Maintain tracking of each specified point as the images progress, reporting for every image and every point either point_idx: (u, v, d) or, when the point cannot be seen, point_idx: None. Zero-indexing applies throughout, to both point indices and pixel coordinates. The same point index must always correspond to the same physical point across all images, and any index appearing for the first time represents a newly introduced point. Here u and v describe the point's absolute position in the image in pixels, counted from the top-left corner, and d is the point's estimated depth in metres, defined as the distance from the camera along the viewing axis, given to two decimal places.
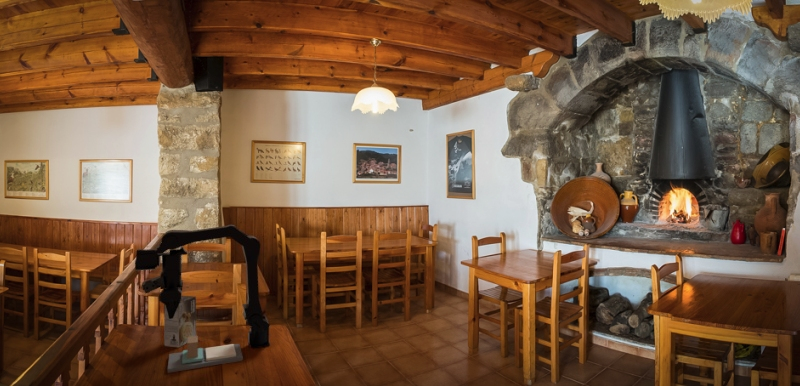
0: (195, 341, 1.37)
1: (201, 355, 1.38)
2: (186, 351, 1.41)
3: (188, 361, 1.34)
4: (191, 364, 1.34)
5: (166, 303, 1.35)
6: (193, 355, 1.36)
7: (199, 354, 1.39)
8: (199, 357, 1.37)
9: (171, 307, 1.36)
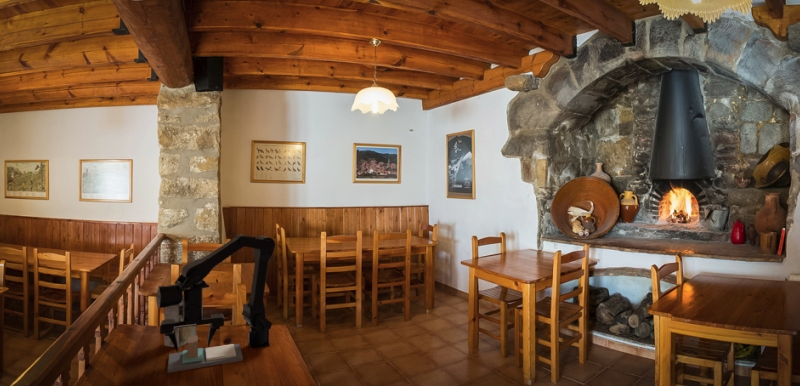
0: (195, 341, 1.37)
1: (201, 355, 1.38)
2: (186, 351, 1.41)
3: (188, 361, 1.34)
4: (191, 364, 1.34)
5: None
6: (193, 355, 1.36)
7: (199, 354, 1.39)
8: (199, 357, 1.37)
9: None
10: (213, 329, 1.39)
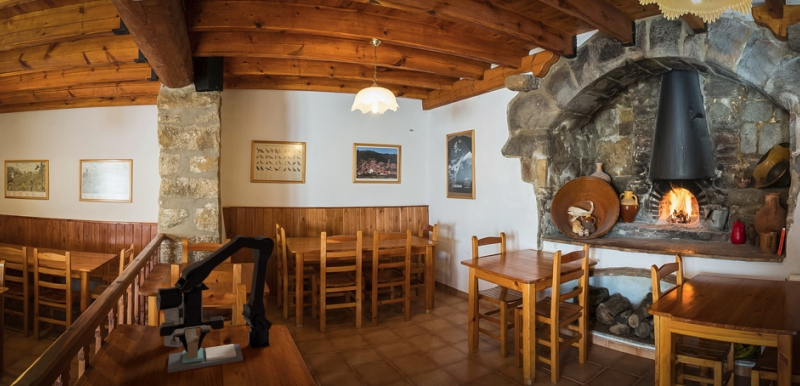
0: (195, 341, 1.37)
1: (201, 355, 1.38)
2: None
3: (188, 361, 1.34)
4: (191, 364, 1.34)
5: None
6: (193, 355, 1.36)
7: (199, 354, 1.39)
8: (199, 357, 1.37)
9: None
10: (203, 333, 1.38)
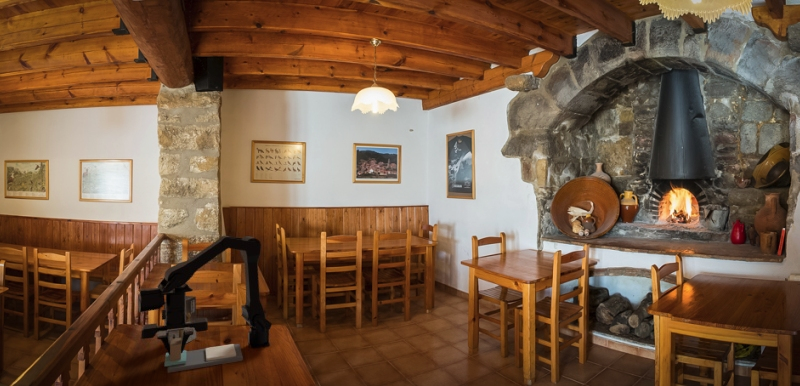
0: (178, 343, 1.35)
1: (184, 358, 1.36)
2: None
3: (171, 364, 1.32)
4: (191, 364, 1.34)
5: None
6: (176, 358, 1.34)
7: (182, 357, 1.37)
8: (182, 360, 1.34)
9: None
10: (186, 335, 1.35)
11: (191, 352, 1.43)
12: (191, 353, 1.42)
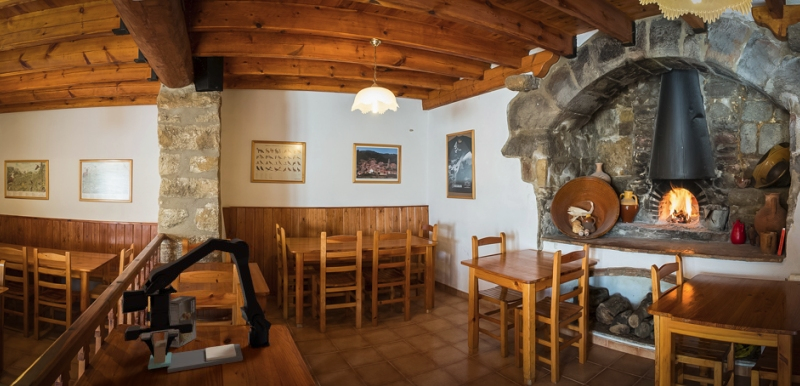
0: (162, 346, 1.33)
1: (169, 360, 1.34)
2: (154, 356, 1.37)
3: (154, 366, 1.30)
4: (191, 364, 1.34)
5: None
6: (160, 360, 1.32)
7: (167, 359, 1.35)
8: (166, 362, 1.33)
9: None
10: (171, 337, 1.33)
11: (191, 352, 1.43)
12: (191, 353, 1.42)
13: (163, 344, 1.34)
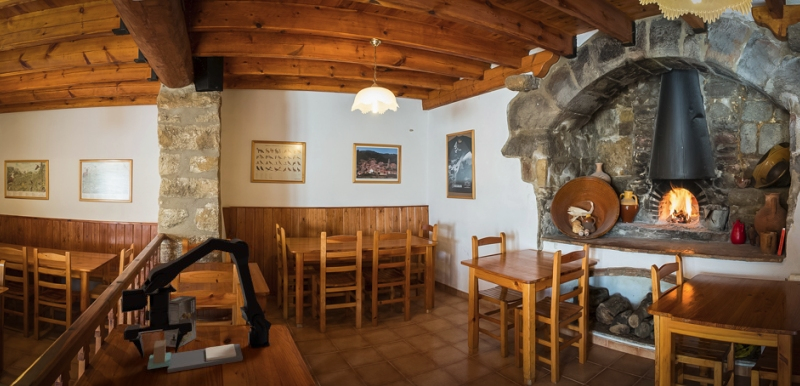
0: (161, 346, 1.33)
1: (168, 360, 1.34)
2: (153, 356, 1.37)
3: (154, 366, 1.30)
4: (191, 364, 1.34)
5: None
6: (159, 360, 1.32)
7: (166, 359, 1.35)
8: (165, 362, 1.32)
9: None
10: (180, 335, 1.35)
11: (191, 352, 1.43)
12: (191, 353, 1.42)
13: (162, 344, 1.34)
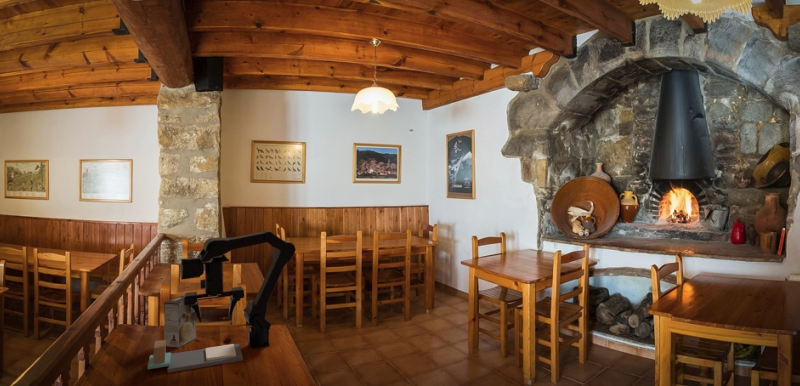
0: (161, 346, 1.33)
1: (168, 360, 1.34)
2: (153, 356, 1.37)
3: (154, 366, 1.30)
4: (191, 364, 1.34)
5: None
6: (159, 360, 1.32)
7: (166, 359, 1.35)
8: (165, 362, 1.32)
9: None
10: (234, 301, 1.45)
11: (191, 352, 1.43)
12: (191, 353, 1.42)
13: (162, 344, 1.34)
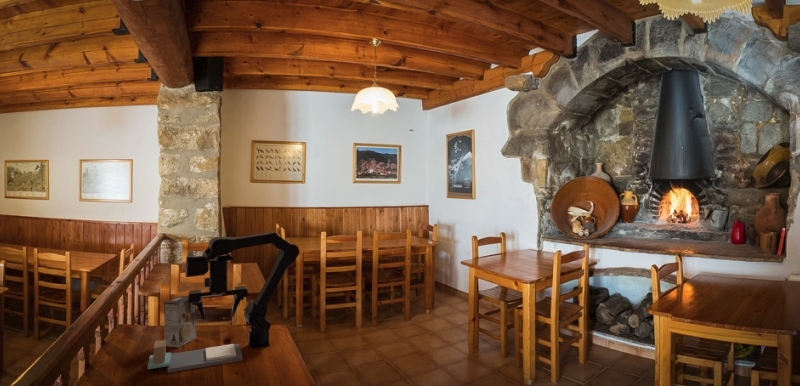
0: (161, 346, 1.33)
1: (168, 360, 1.34)
2: (153, 356, 1.37)
3: (154, 366, 1.30)
4: (191, 364, 1.34)
5: None
6: (159, 360, 1.32)
7: (166, 359, 1.35)
8: (165, 362, 1.32)
9: None
10: (237, 300, 1.46)
11: (191, 352, 1.43)
12: (191, 353, 1.42)
13: (162, 344, 1.34)
